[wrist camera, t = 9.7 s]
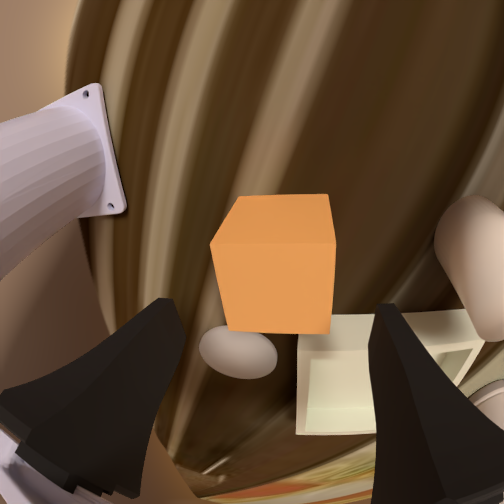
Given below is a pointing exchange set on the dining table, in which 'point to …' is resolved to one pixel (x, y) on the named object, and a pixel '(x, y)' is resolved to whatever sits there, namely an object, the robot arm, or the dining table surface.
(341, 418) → the tray
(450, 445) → the robot arm
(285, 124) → the dining table surface
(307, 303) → the block
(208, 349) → the grey flat disc
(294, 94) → the dining table surface
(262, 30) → the dining table surface
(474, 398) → the travel mug
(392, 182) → the dining table surface
